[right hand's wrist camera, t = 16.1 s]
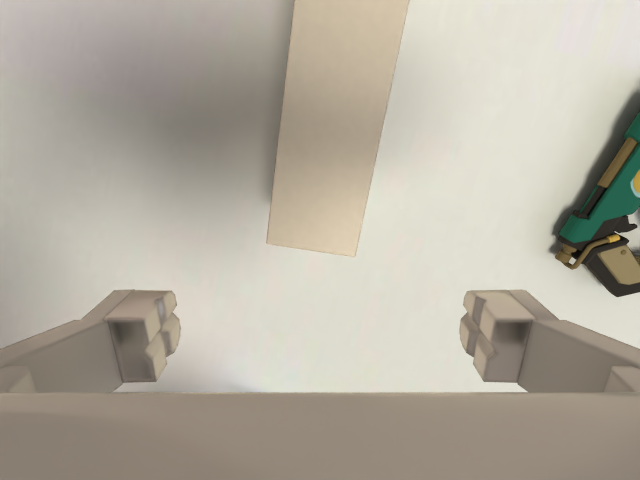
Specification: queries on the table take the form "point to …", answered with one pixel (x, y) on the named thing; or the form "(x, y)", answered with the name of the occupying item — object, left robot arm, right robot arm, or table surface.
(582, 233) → the spray gun
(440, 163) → the table surface
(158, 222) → the table surface
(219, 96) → the table surface
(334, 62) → the box
